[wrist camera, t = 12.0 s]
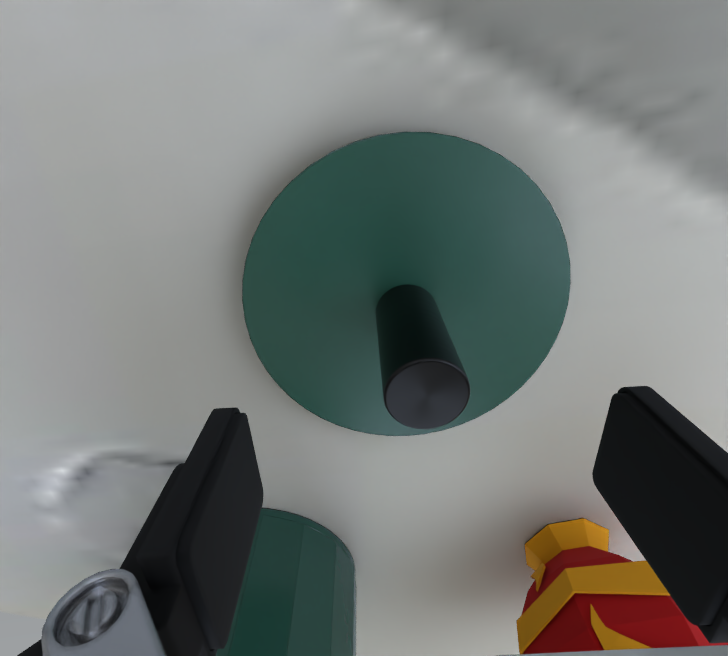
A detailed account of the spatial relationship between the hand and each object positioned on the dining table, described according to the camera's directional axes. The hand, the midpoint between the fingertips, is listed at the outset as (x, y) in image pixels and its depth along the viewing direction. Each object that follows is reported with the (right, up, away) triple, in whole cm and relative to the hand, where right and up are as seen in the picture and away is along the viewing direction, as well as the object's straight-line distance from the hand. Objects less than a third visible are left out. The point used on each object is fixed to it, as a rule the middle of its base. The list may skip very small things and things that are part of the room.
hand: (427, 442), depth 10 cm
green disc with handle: (0, +4, +6) cm, 7 cm away
